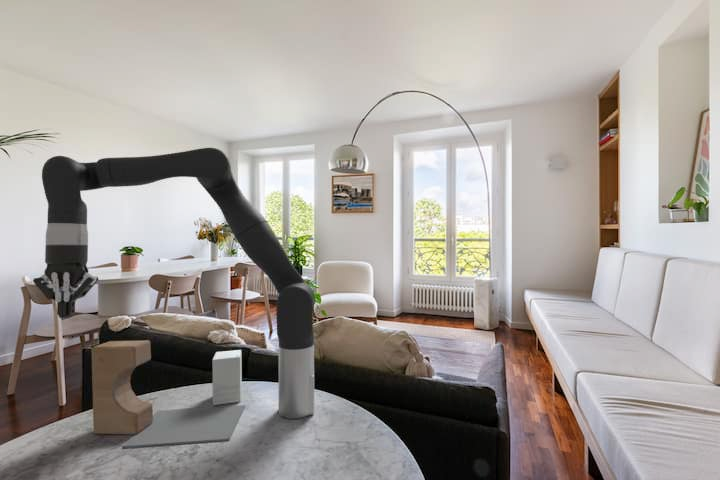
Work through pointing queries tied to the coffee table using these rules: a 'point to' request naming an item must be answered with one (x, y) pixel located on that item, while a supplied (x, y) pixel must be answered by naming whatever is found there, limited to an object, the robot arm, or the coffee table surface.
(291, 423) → the coffee table surface
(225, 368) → the supplement box
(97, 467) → the coffee table surface
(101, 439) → the coffee table surface
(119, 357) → the decorative block
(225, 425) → the mat
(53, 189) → the robot arm
